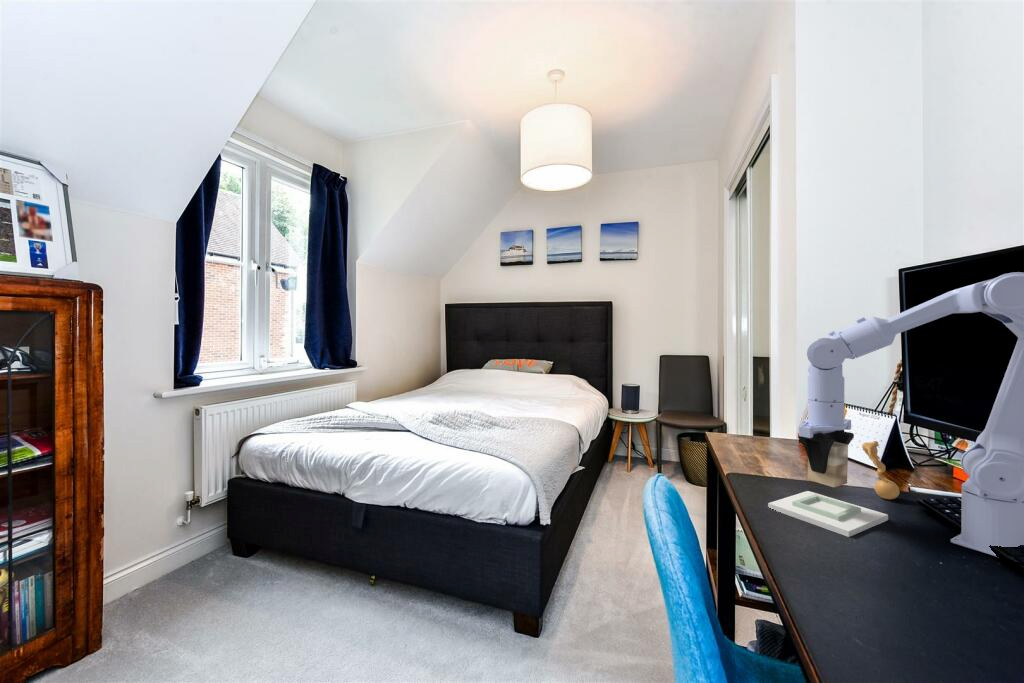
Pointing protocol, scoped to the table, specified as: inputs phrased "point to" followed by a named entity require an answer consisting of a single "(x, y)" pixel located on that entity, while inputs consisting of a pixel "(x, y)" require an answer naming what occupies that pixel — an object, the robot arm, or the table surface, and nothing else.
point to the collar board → (829, 513)
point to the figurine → (884, 485)
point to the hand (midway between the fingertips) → (825, 469)
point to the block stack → (833, 467)
